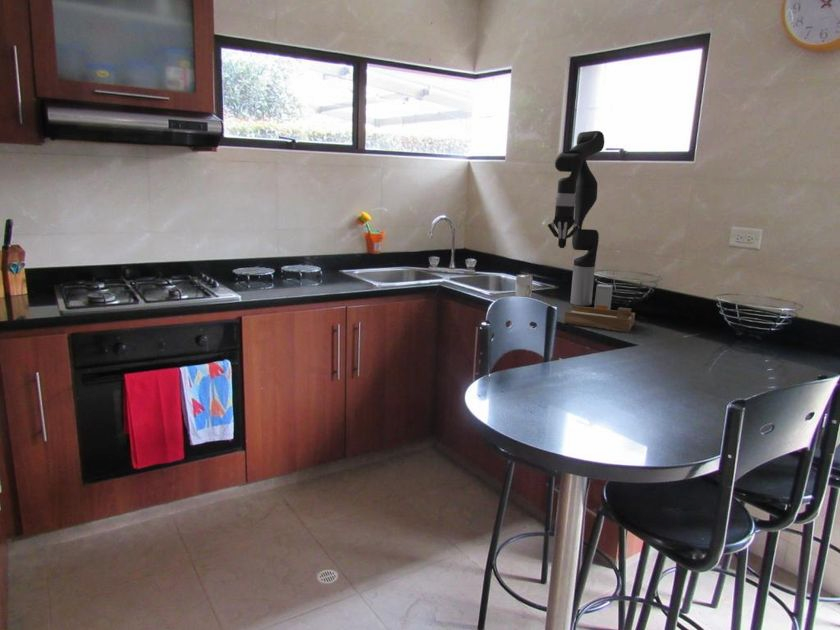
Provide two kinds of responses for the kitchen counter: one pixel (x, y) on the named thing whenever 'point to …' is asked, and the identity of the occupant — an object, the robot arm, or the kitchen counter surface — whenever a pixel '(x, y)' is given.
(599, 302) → the skincare box
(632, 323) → the trap tray
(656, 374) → the kitchen counter surface
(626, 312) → the block
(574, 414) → the kitchen counter surface
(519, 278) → the blue flashlight
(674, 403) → the kitchen counter surface
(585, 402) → the kitchen counter surface
